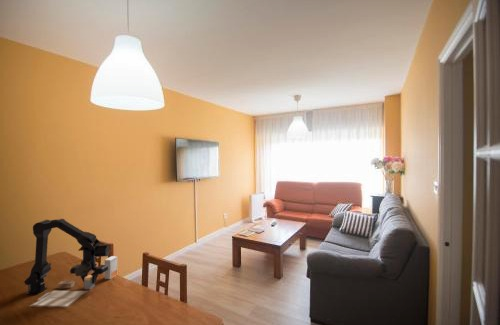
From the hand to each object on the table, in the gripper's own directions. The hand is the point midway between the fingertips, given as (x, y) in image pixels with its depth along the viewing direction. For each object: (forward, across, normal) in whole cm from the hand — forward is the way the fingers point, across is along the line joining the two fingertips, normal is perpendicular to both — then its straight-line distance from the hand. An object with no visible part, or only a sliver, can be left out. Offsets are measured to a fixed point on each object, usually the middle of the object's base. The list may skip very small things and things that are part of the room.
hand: (89, 283), depth 133 cm
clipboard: (+2, -8, -11) cm, 14 cm away
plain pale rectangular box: (+2, -14, 0) cm, 14 cm away
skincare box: (+2, +5, +12) cm, 13 cm away
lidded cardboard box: (+2, 0, 0) cm, 2 cm away
